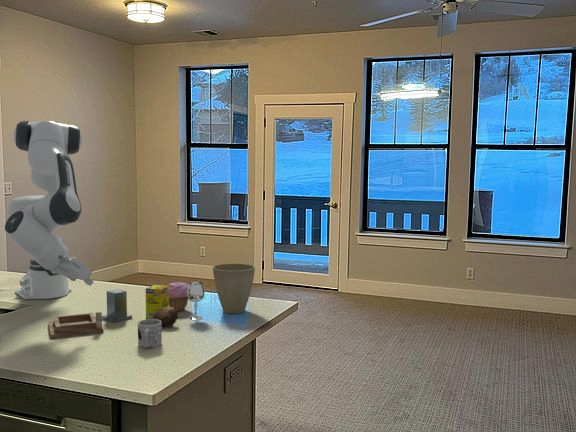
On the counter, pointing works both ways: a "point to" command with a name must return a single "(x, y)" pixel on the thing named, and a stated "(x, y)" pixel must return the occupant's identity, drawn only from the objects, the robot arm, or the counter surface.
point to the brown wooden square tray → (76, 325)
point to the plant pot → (233, 285)
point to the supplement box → (156, 299)
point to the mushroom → (166, 316)
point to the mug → (149, 333)
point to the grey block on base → (116, 306)
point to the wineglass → (195, 296)
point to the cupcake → (178, 295)
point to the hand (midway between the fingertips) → (82, 281)
